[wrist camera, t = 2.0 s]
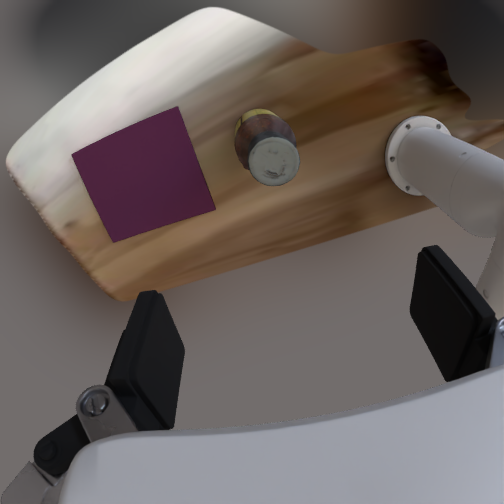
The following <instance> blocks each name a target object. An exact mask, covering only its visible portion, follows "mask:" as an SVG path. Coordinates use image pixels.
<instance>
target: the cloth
mask: <svg viewBox="0 0 504 504" xmlns="http://www.w3.org/2000/svg"><path fill="white" fill-rule="evenodd" d="M72 157H73V159H74V162H75V164H76V166H77V169H78V171H79V173H80V175H81V178H82V180H83V182H84V184H85V186H86V189H87V191H88V193H89V195H90V197H91V199H92V201H93V204H94V206H95V208H96V210H97V212H98V214H99V216H100V218H101V220H102V222H103V224H104V226H105V228H106V230H107V232H108V234H109V236H110V237H111V239H112V241H113V243H114V242H117V241H120V240H123V239H126V238H129V237H132V236H135V235H138V234H141V233H144V232H147V231H150V230H153V229H156V228H159V227H162V226H165V225H168V224H172V223H175V222H178V221H181V220H184V219H187V218H191V217H194V216H197V215H200V214H204V213H207V212H210V211H213V210H216V208H215V205H214V203H213V200H212V197H211V195H210V192H209V189H208V187H207V184H206V181H205V179H204V176H203V173H202V171H201V168H200V165H199V163H198V160H197V157H196V155H195V152H194V149H193V146H192V144H191V141H190V138H189V136H188V133H187V130H186V127H185V125H184V122H183V119H182V116H181V114H180V111H179V108H178V106H177V107H175V108H172V109H169V110H167V111H164V112H162V113H159V114H157V115H154V116H152V117H149V118H147V119H145V120H142V121H140V122H138V123H135V124H133V125H131V126H129V127H126V128H124V129H122V130H120V131H118V132H115V133H113V134H111V135H109V136H107V137H105V138H103V139H101V140H99V141H97V142H95V143H93V144H91V145H89V146H87V147H85V148H83V149H81V150H79V151H77V152H75V153H73V154H72Z"/></svg>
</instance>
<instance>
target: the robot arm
mask: <svg viewBox="0 0 504 504" xmlns="http://www.w3.org/2000/svg"><path fill="white" fill-rule="evenodd" d="M406 125H407V126H406ZM436 125H437V126H436ZM390 157H391V159H390ZM385 162H386V168H387V171H388V174H389V176H390V178H391V179H392V181H393V182H394V183H395V184H396V186H398V187H399V188H400V189H401V190H403V191H404V192H406V193H408V194H411V195H417V196H420V195H424V196H426V197H427V198H428V199H429V200H431V201H432V202H433V203H434V204H435V205H437V206H438V207H439V208H440V209H441V210H443V211H444V212H445V213H446V214H447V215H448V216H450V217H451V218H452V219H453V220H454V221H455V222H456V223H457V224H459V225H460V226H461V227H462V228H464V230H466V231H467V232H469V233H471V234H473V235H475V236H478V237H496V238H495V241H494V244H493V247H492V249H491V253H490V256H489V258H488V261H487V263H486V265H485V268H484V270H483V272H482V275H481V277H480V279H479V281H478V283H477V285H476V288H475V287H474V286H473V285H472V283H471V282H470V281H469V280H468V279H467V277H466V276H465V275H464V274H463V273H462V272H461V270H460V269H459V268H458V267H457V266H456V265H455V264H454V263H453V261H452V260H451V259H450V258H449V257H448V256H447V255H446V254H445V252H444V251H443V250H442V249H441V248H440V247H439V246H438V245H434V246H428V247H424V248H423V249H422V251H421V252H419V253H418V258H417V265H416V273H415V279H414V286H413V292H412V298H411V304H410V314H411V317H412V319H413V321H414V323H415V324H416V326H417V328H418V330H419V331H420V333H421V335H422V337H423V339H424V341H425V343H426V344H427V346H428V348H429V350H430V352H431V354H432V356H433V357H434V359H435V362H436V363H437V365H438V367H439V369H440V371H441V373H442V375H443V377H444V379H445V381H446V382H448V383H445V384H442V385H439V386H436V387H433V388H430V389H427V390H424V391H420V392H417V393H413V394H410V395H406V396H403V397H400V398H396V399H392V400H388V401H384V402H381V403H376V404H372V405H368V406H364V407H360V408H355V409H351V410H346V411H341V412H336V413H331V414H326V415H320V416H315V417H309V418H302V419H296V420H289V421H282V422H274V423H267V424H258V425H248V426H236V427H223V428H208V429H187V430H170V429H172V428H173V427H174V423H175V415H176V408H177V401H178V394H179V387H180V380H181V374H182V367H183V361H184V354H185V349H184V345H183V343H182V340H181V338H180V335H179V333H178V331H177V328H176V326H175V324H174V322H173V319H172V317H171V314H170V312H169V310H168V307H167V305H166V302H165V300H164V297H163V295H162V294H161V293H159V294H158V293H157V291H156V290H151V291H143V292H140V293H139V295H138V298H137V300H136V303H135V306H134V308H133V311H132V313H131V316H130V318H129V321H128V324H127V327H126V329H125V330H124V331H123V333H122V336H121V338H120V341H119V343H118V346H117V349H116V352H115V355H114V358H113V361H112V363H111V366H110V369H109V372H108V375H107V378H106V382H105V384H104V385H94V386H91V387H89V388H87V389H86V390H85V391H84V392H82V394H81V395H80V396H79V398H78V400H77V402H76V411H77V414H76V415H75V416H73V417H72V418H71V419H69V420H68V421H66V422H65V423H63V424H62V425H61V426H59V427H58V428H56V429H55V430H53V431H52V432H50V433H49V434H47V435H46V436H45V437H43V438H42V439H41V440H40V441H39V442H38V443H37V445H36V447H35V449H34V462H33V463H31V462H30V461H29V462H28V463H27V465H26V466H25V467H24V468H23V469H22V470H21V472H20V473H19V474H18V475H17V476H16V477H15V479H14V480H13V481H12V482H11V484H10V485H9V486H8V487H7V489H6V490H5V491H4V492H3V494H2V497H1V504H504V160H503V159H501V158H498V157H497V156H495V155H493V154H490V153H488V152H486V151H484V150H482V149H480V148H477V147H475V146H473V145H471V144H469V143H466V142H464V141H462V140H459V139H457V138H455V137H452V136H451V134H450V133H449V131H448V130H447V128H446V127H445V126H444V125H443V124H442V123H441V122H439V121H437V120H436V119H433V118H431V117H427V116H414V117H410V118H408V119H406V120H404V121H403V122H401V123H400V124H399V125H398V126H397V127H396V128H395V129H394V131H393V132H392V134H391V136H390V137H389V140H388V143H387V146H386V151H385Z"/></svg>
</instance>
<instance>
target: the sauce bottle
mask: <svg viewBox="0 0 504 504" xmlns="http://www.w3.org/2000/svg"><path fill="white" fill-rule="evenodd" d="M235 150H236V153H237V156H238V158H239V160H240V161H241V163H242V164H243V167H244V168H245V169H248V170H250V172H251V174H252V176H253V177H254V178H255V179H256V180H257V181H258V182H260V183H262V184H264V185H267V186H280V185H283V184H285V183H287V182H289V181H290V180H292V179H293V178H294V177H295V175H296V173H297V172H298V169H299V165H300V157H299V153H298V151H297V149H296V139H295V136H294V133H293V131H292V130H291V128H290V126H289V125H288V124H287V123H286V122H285V121H284V120H283V119H281V118H280V117H278V116H277V115H275V114H274V113H272V112H270V111H269V110H265V109H254V110H250V111H248V112H246V113H245V114H243V115H242V116H241V118H240V119H239V120H238V122H237V124H236V127H235Z"/></svg>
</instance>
